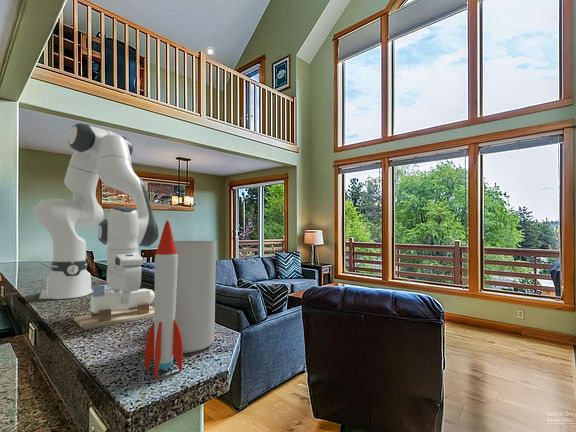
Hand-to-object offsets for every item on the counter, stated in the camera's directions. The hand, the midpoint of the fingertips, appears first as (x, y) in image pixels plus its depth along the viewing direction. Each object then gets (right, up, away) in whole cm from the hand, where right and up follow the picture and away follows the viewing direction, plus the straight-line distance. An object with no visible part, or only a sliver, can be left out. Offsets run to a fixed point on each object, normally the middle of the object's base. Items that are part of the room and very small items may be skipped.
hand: (121, 302), depth 99 cm
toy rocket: (+27, -4, -36) cm, 46 cm away
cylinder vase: (+28, -5, -22) cm, 36 cm away
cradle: (0, -5, 0) cm, 5 cm away
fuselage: (+1, -2, +1) cm, 2 cm away
